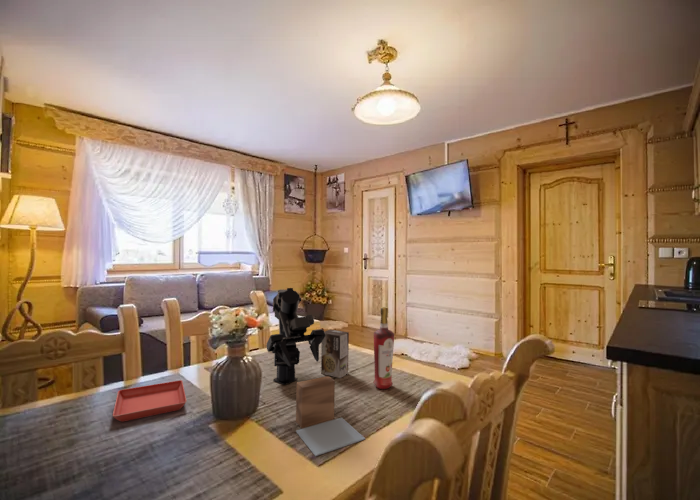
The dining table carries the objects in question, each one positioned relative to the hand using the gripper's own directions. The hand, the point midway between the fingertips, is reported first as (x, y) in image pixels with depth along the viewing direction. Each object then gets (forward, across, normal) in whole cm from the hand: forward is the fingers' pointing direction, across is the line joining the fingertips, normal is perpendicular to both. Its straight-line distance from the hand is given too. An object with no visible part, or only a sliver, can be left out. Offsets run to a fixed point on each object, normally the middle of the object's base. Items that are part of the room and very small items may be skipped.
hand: (304, 363), depth 102 cm
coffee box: (-4, +22, +22) cm, 31 cm away
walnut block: (+16, -1, +3) cm, 16 cm away
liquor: (+10, +30, +8) cm, 33 cm away
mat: (+22, -1, -3) cm, 23 cm away
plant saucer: (-8, -39, +27) cm, 48 cm away
